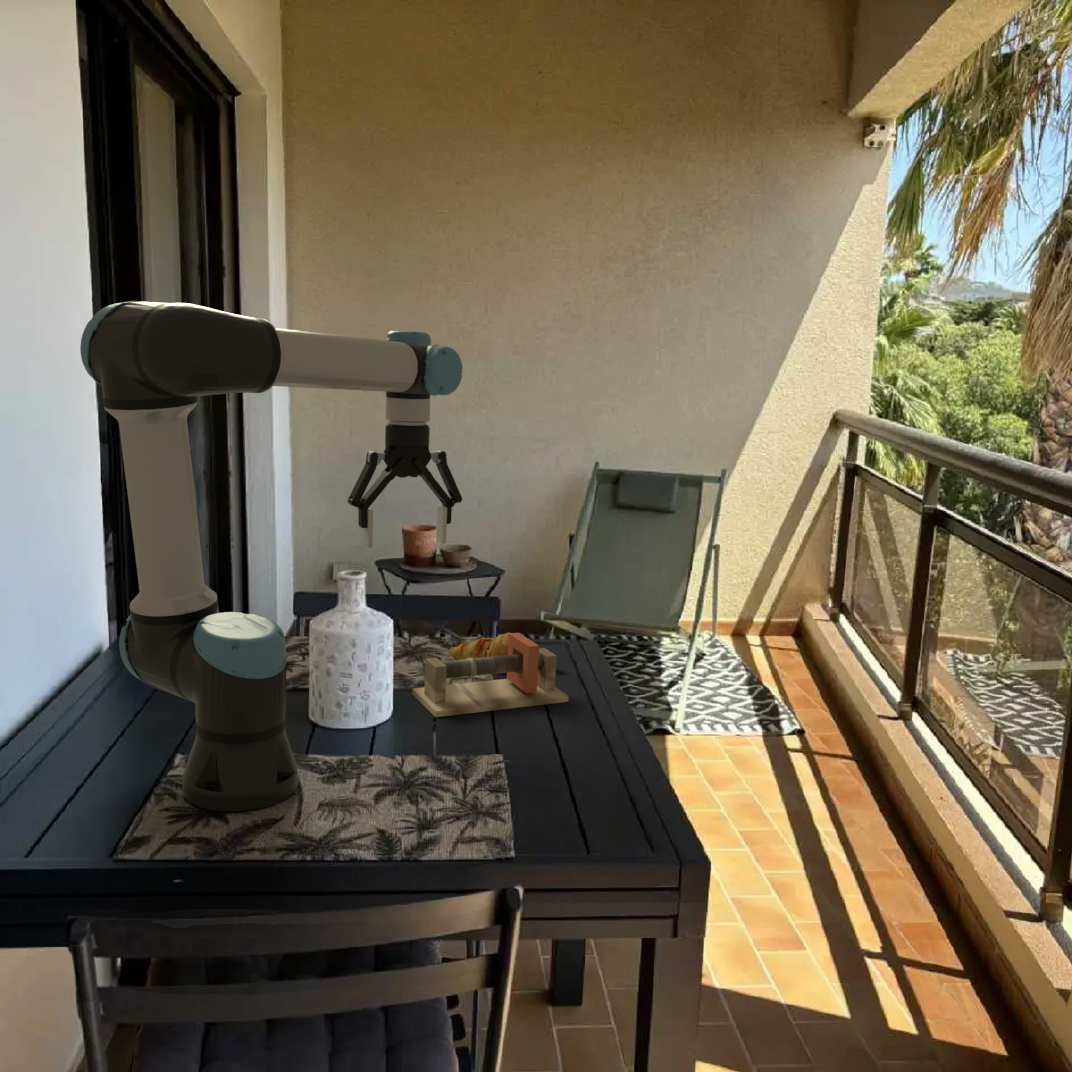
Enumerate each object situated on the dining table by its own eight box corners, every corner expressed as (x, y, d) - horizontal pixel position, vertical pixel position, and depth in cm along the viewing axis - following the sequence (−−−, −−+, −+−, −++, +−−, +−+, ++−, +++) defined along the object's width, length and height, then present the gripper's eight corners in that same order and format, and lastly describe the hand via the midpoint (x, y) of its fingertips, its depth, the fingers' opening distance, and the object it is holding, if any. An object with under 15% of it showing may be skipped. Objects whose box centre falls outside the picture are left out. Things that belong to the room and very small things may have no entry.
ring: (516, 677, 185) (518, 632, 184) (536, 692, 178) (539, 645, 176) (506, 678, 184) (508, 633, 183) (526, 693, 177) (528, 646, 175)
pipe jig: (538, 680, 189) (540, 641, 188) (568, 701, 179) (570, 660, 178) (412, 693, 179) (413, 652, 177) (435, 717, 168) (437, 673, 167)
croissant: (445, 681, 197) (442, 652, 192) (455, 645, 205) (452, 616, 200) (553, 689, 194) (552, 659, 190) (559, 652, 202) (558, 623, 197)
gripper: (465, 421, 182) (462, 536, 186) (330, 420, 170) (329, 543, 174) (483, 424, 175) (478, 544, 179) (343, 424, 164) (342, 552, 168)
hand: (405, 544), depth 177 cm, fingers open, 13 cm apart
